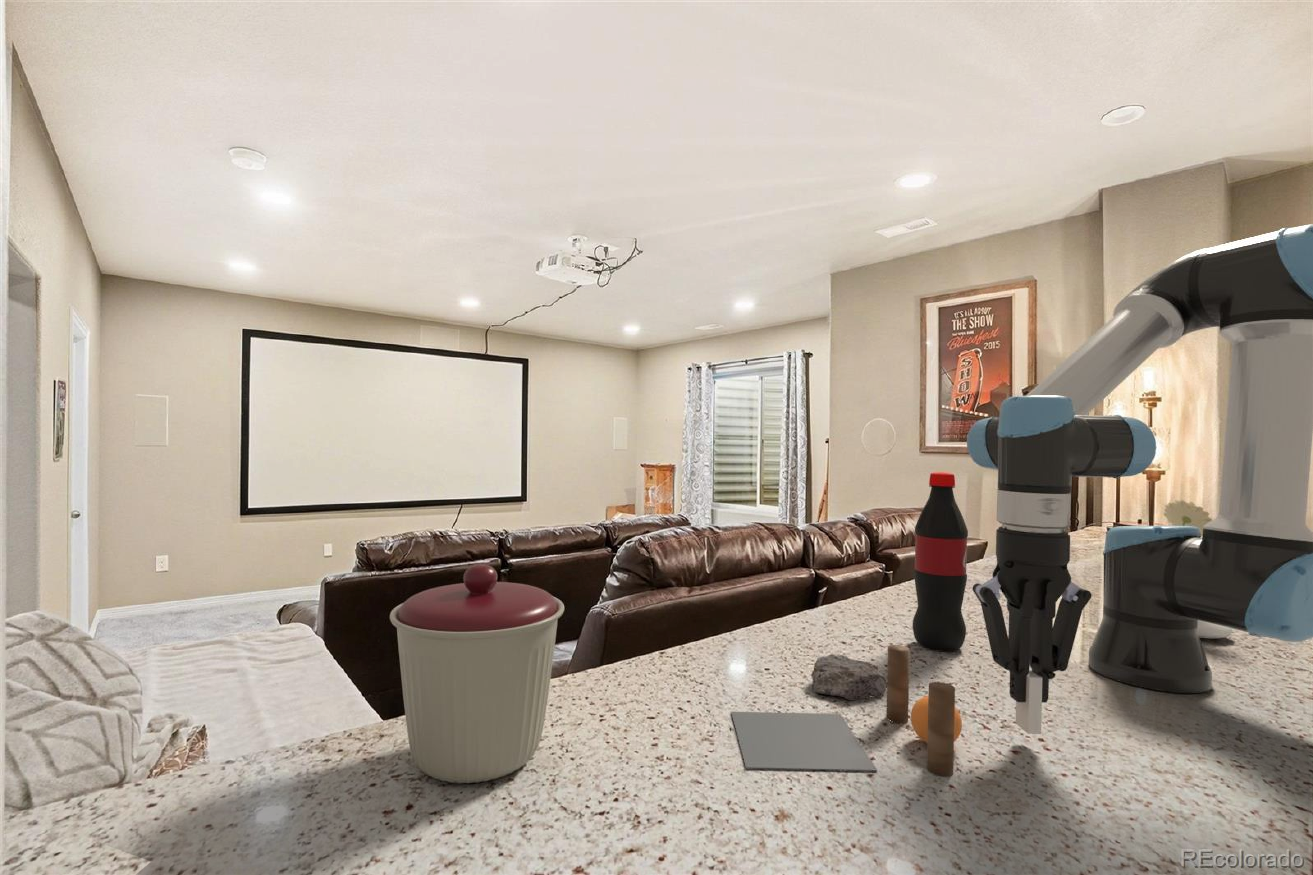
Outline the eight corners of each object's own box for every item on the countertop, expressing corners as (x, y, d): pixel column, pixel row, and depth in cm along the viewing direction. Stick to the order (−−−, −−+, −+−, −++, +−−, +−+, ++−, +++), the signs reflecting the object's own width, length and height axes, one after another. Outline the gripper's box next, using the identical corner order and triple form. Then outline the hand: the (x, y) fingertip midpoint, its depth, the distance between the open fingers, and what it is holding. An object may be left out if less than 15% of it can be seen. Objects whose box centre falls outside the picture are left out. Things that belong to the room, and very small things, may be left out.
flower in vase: (1250, 645, 117) (1253, 505, 117) (1185, 643, 117) (1188, 504, 117) (1191, 623, 130) (1194, 498, 130) (1133, 622, 130) (1136, 497, 130)
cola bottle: (968, 644, 114) (972, 472, 114) (961, 658, 107) (965, 474, 107) (917, 635, 118) (920, 470, 118) (907, 648, 111) (911, 472, 111)
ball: (906, 736, 79) (951, 730, 79) (925, 758, 73) (974, 751, 74) (900, 691, 79) (945, 685, 79) (919, 709, 74) (967, 703, 74)
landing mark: (840, 715, 84) (840, 713, 84) (877, 771, 70) (877, 770, 70) (731, 713, 84) (731, 711, 84) (745, 769, 70) (746, 767, 70)
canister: (500, 824, 59) (505, 591, 59) (346, 783, 65) (350, 573, 65) (589, 738, 76) (592, 557, 76) (460, 712, 82) (463, 545, 82)
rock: (895, 695, 91) (895, 666, 91) (832, 707, 87) (833, 676, 87) (852, 674, 99) (852, 647, 99) (793, 683, 95) (793, 656, 95)
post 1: (903, 714, 84) (904, 645, 84) (911, 723, 82) (912, 651, 82) (883, 714, 84) (884, 644, 84) (890, 723, 82) (892, 651, 82)
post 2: (946, 764, 72) (948, 682, 72) (957, 776, 69) (959, 691, 69) (922, 763, 72) (924, 681, 72) (933, 776, 69) (934, 691, 69)
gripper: (993, 531, 73) (988, 742, 73) (1110, 533, 73) (1105, 745, 73) (962, 522, 80) (957, 713, 80) (1068, 524, 80) (1063, 716, 80)
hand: (1028, 728), depth 77 cm, fingers closed
